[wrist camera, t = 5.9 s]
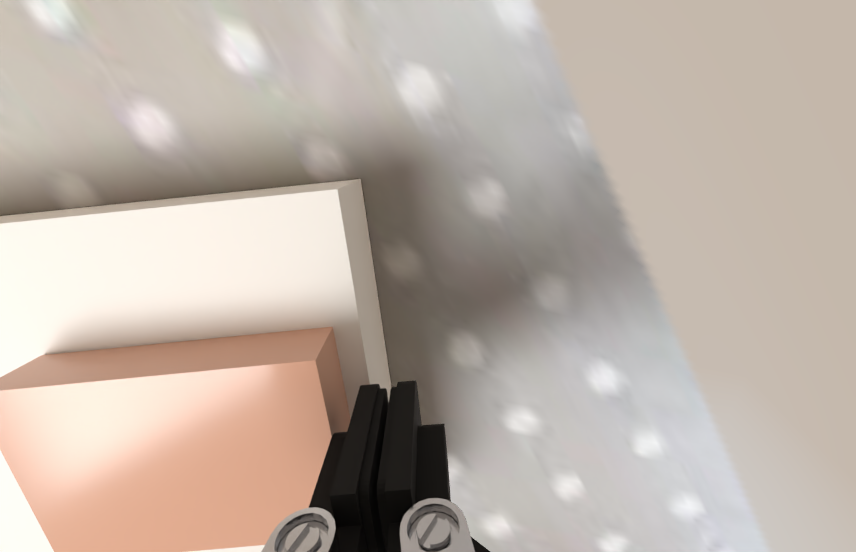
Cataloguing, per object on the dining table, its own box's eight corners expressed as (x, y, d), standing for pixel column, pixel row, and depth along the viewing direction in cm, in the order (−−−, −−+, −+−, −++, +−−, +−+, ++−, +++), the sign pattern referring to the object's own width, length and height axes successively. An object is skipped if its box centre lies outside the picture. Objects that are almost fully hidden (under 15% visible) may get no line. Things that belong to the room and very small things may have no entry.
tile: (332, 326, 12) (315, 360, 10) (363, 483, 14) (353, 537, 12) (41, 355, 12) (-31, 393, 10) (109, 505, 14) (59, 562, 12)
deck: (360, 178, 14) (337, 189, 11) (405, 480, 19) (399, 565, 15) (-60, 222, 15) (-228, 247, 11) (77, 507, 19) (-10, 596, 15)
